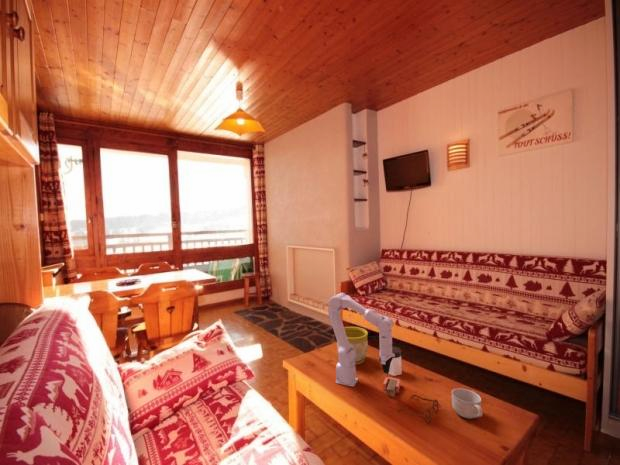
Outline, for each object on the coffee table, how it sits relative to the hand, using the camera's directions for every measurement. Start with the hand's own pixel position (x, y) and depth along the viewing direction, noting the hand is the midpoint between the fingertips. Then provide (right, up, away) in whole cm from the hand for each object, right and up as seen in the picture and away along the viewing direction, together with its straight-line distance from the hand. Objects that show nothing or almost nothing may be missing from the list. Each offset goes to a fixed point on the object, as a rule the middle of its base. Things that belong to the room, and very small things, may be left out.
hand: (386, 372), depth 137 cm
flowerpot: (-11, -9, +33) cm, 36 cm away
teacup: (+29, -9, -18) cm, 35 cm away
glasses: (+10, -10, -13) cm, 19 cm away
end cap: (+4, -9, +4) cm, 11 cm away
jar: (+9, -9, +18) cm, 22 cm away
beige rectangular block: (+3, -10, +1) cm, 10 cm away
